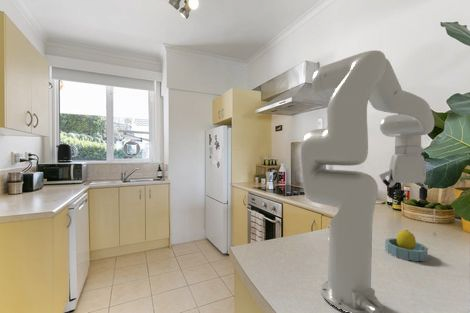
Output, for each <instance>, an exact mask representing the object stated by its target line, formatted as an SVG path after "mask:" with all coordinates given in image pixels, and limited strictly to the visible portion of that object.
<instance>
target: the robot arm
mask: <svg viewBox="0 0 470 313" xmlns="http://www.w3.org/2000/svg"><path fill="white" fill-rule="evenodd" d="M311 85H312V89H313V91H314V93H315V94H316V95H318V96H319V97H321V98H325V99H326V98H327V99H328V98H330V99H329V102H328V104H327V108H326V110H327V111H326V114H327V115H326V116H327V118H326V119H327V120H326V122H327V126H326V128H318V129H317V128H316V129H313V130H310V131H308V132H307V133H306V134H305V135H304V137H303V138H302V141H301V145H300V162H301V164H300V165H301V178H302V187H303V192H304V196H305V197H306V198H307V199H308V200H309V202H312V203H315V204H319V205H325V206H329V207H334V208H337V209H338V211H337V213H336V214H335V215H334V216H333V217H332V218H331V219H330V222H329V224H328V250H327V251H328V257H327V258H328V260H327V263H328V264H327V267H328V268H327V270H328V271H327V276H328V277H327V281H325V282H324V283H323V284H322V285H321V286H320V287H321V292H320V293H321V295H323V296H322V298H323V299H324V298H325V299H326V300H327V301H328V302H329V303H330V304H329V303H328V302H327V301H326V300H325V299H324V300H325V301H326V302H327V303H328V304H329V305H331V304H332V305H334V306H336V307H338V308H340V309H343V310H345V311H348V312H352V313H381V312H382V311H383V310H384V305H383V304H382V303H381V302H380V301H379V299H378V297H377V296H376V295H375V294H376V292H375V289H374V288H373V287H372V264H373V263H372V260H373V258H372V257H373V256H372V254H373V252H372V251H373V220H374V214H375V208H376V202H377V200H378V199H377V198H378V193H379V188H378V183H377V181H376V180H375V178H374V177H373V176H371V175H370V174H368V173H366V172H362V171H358V170H348V169H347V170H345V169H327V166H340V167H341V166H346V167H347V166H359V165H361V164H363V163H364V162H366V160H367V159H368V155H369V154H368V153H369V136H368V134H369V131H368V104H369V103H370V105H371V107H372V108H373V109H374V110H377V111H379V112H382V113H383V112H384V113H387V114H388V113H389V114H392V115H387V116H385V117H383V119H381V121H380V124H379V130H380V132H381V133H382V134H383V135H384V136H386V137H390V138H393V137H394V154H393V155H391V157H390V158H391V159H390V164H389V170H387V171H385V172H383V173H380V174H379V178H380V180H381V182H382V183H383V184H384V185H385V186H386V187H387V190H386V191H387V192H386V194H387V197H388V198H390V199H395V187H394V186H395V185H396V183H401V184H402V183H403V184H418V183H420V184H423V185H424V186H423V187H422V186H420V187H419V191H418V192H419V193H418V195H419V196H418V197H419V199H420V200H421V201H427V198H428V190H429V189H430V187H429V188H428V185H425V184H424V182H425V183H426V182H427V181H426V180H427V177H426V172H427V170H426V168H427V167H426V163H425V159H424V155H422V154H423V153H425V152H426V151H424V149H425V148H423V147H422V136H425V135H426V136H427V135H428V134H430V133H431V132H433V130H434V127H435V117H434V115H433V111H432V109H431V106H430V104H429V103H428V102H427V101H426V99H424V98H423V97H420V96H418V95H417V94H414V93H412V92H408V91H406V90H403V89H402V87H401V86H402V85H400V82H399V79H398V77H397V75H396V73H395V71H394V68H393V66H392V64H391V62H390V60H389V59H388V58H386V55H385V54H384V52H382V51H381V50H368V51H363V52H360V53H357V54H353V55H351V56H348V57H345V58H342V59H340V60H337V61H334V62H331V63H328V64H325V65H322V66H321V67H318V68H317V69H316V70H315V71H314V73H313V75H312V78H311ZM386 177H388V180H389V181H388V180H387V178H386ZM332 305H331V306H332ZM334 306H333V307H334ZM380 311H381V312H380Z"/></svg>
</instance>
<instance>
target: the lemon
mask: <svg viewBox="0 0 470 313" xmlns="http://www.w3.org/2000/svg"><path fill="white" fill-rule="evenodd" d="M396 238H397V244H398V246H399V247H400V248H404V249H408V250H413V249H414V248H415V245H416V242H417V240H416V237H415V235H414V234H413V232H411V231H409V230H408V229H404V230H400V231H399V232H398V234H397V236H396Z"/></svg>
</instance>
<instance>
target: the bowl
mask: <svg viewBox="0 0 470 313" xmlns="http://www.w3.org/2000/svg"><path fill="white" fill-rule="evenodd" d="M384 242H385V245H384V246H385V247H384V249H385V252H386V251H387V252H388V253H387V252H386V253H387V254H389V253H390V254H392V255H394V256H396V257H395V258H397V257H399V258H398V259H400V258H403V259H402V260H404V259H406V260H405V261H407V260H412V261H411V262H414V261H425V262H427V261H428V260H429V248H428V247H427V246H426V245H424V244H423V243H421V242H418V241H416V245H415V248H414V249H413V250H408V249H404V248H400V247H399V246H398V244H397V237H391V238H387V239H386V240H385V241H384ZM390 254H389V255H390ZM392 255H391V256H392ZM394 256H393V257H394ZM426 260H427V261H426Z"/></svg>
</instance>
